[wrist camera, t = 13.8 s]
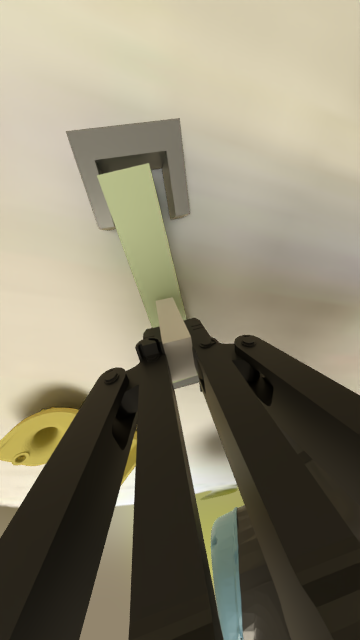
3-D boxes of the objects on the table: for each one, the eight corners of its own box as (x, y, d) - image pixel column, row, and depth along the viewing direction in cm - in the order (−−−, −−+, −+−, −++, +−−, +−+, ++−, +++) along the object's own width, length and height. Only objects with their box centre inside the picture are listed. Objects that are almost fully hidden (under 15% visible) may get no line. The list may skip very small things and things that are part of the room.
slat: (110, 192, 15) (96, 175, 11) (147, 183, 15) (148, 163, 11) (167, 357, 25) (172, 383, 20) (190, 350, 25) (200, 374, 21)
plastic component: (150, 445, 30) (107, 503, 27) (135, 418, 35) (99, 463, 33) (43, 398, 19) (-47, 485, 16) (47, 369, 25) (-18, 430, 22)
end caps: (200, 362, 26) (208, 379, 23) (153, 375, 25) (155, 394, 22) (172, 143, 14) (179, 118, 11) (83, 154, 14) (65, 131, 11)
